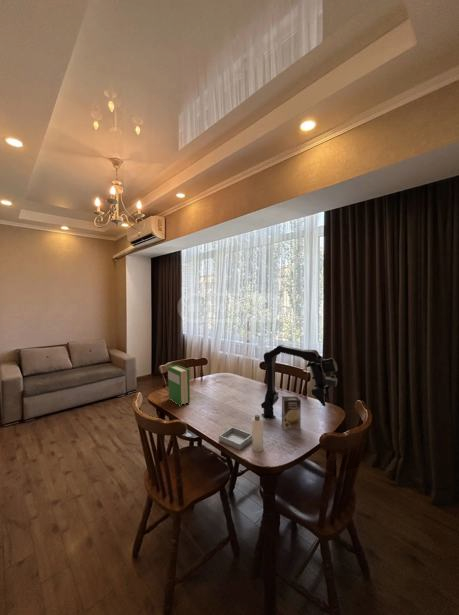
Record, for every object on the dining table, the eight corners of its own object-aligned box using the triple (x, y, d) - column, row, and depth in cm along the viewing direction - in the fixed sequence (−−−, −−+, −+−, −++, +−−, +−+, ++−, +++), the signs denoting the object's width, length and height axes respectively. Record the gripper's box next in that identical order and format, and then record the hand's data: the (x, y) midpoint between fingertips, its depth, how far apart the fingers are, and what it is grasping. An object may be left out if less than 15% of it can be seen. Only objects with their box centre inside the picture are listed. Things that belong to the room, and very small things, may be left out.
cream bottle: (250, 446, 121) (249, 414, 120) (260, 444, 123) (259, 412, 122) (255, 453, 116) (254, 419, 115) (265, 450, 118) (265, 417, 117)
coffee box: (284, 430, 135) (284, 400, 135) (281, 424, 142) (281, 396, 141) (301, 429, 136) (300, 400, 135) (297, 423, 142) (297, 395, 141)
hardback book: (189, 404, 172) (189, 369, 171) (180, 407, 167) (179, 371, 167) (178, 396, 186) (177, 364, 185) (168, 399, 181) (167, 366, 180)
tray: (232, 432, 134) (232, 426, 134) (252, 440, 126) (252, 434, 126) (219, 441, 125) (218, 435, 125) (240, 450, 117) (239, 444, 117)
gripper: (329, 376, 122) (338, 408, 120) (336, 367, 138) (345, 395, 136) (307, 379, 128) (316, 409, 126) (316, 370, 144) (325, 397, 142)
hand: (326, 402), depth 132 cm, fingers open, 9 cm apart
